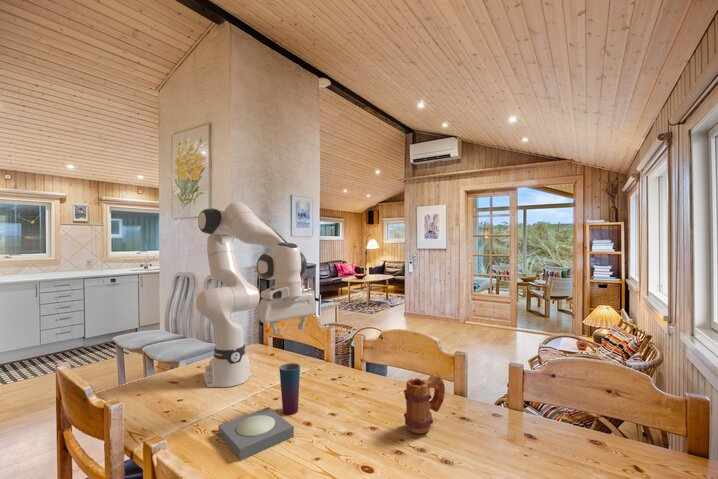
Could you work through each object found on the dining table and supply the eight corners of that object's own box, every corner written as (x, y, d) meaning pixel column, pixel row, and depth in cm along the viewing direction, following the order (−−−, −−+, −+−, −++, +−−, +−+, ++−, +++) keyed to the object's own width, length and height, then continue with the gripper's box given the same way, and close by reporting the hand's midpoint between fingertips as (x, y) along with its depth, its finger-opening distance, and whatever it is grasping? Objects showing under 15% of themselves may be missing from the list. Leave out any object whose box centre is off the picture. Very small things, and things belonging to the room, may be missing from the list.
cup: (296, 417, 111) (295, 371, 111) (276, 415, 112) (275, 369, 112) (303, 407, 117) (302, 363, 117) (285, 405, 119) (284, 362, 119)
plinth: (218, 435, 101) (218, 424, 101) (268, 416, 111) (268, 406, 111) (240, 460, 89) (240, 448, 89) (293, 436, 99) (293, 425, 99)
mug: (413, 440, 96) (412, 387, 97) (397, 427, 104) (396, 377, 104) (452, 427, 103) (452, 377, 103) (435, 415, 110) (434, 368, 111)
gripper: (309, 286, 124) (309, 324, 124) (256, 293, 111) (256, 335, 110) (319, 288, 119) (319, 327, 119) (264, 295, 106) (265, 339, 106)
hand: (289, 331), depth 115 cm, fingers open, 8 cm apart
